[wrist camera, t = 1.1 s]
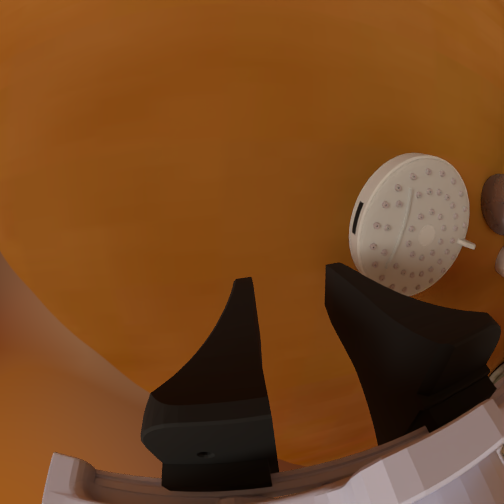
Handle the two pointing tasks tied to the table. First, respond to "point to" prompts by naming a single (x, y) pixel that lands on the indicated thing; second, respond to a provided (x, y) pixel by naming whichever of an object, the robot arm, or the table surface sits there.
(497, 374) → the vase
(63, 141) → the table surface
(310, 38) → the table surface
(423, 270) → the showerhead
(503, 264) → the pvc coupling
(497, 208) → the beige red button device
